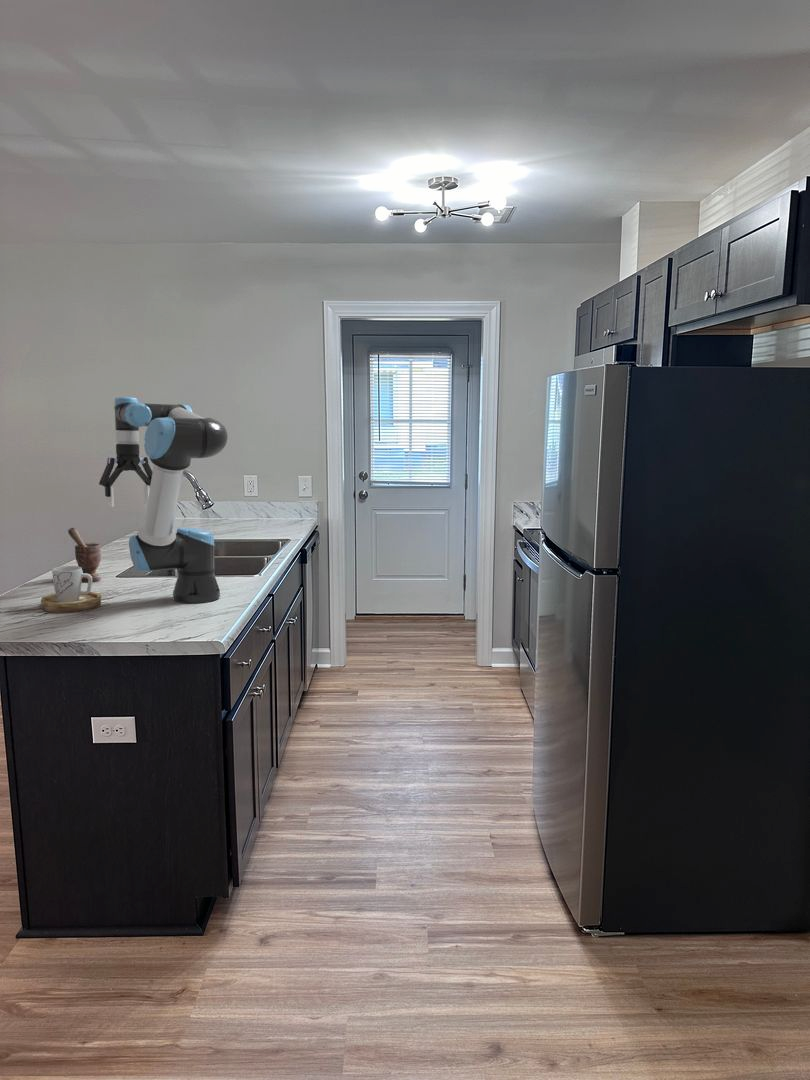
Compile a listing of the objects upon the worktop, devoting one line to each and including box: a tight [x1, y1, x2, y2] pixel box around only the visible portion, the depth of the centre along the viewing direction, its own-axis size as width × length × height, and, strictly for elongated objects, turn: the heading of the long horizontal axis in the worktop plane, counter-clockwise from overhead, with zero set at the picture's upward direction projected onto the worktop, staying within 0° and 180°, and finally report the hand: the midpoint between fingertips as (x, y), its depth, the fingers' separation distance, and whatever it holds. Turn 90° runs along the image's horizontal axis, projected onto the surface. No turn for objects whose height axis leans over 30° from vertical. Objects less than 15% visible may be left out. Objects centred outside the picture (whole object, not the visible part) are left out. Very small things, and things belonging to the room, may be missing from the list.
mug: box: [51, 565, 93, 602], centre depth 237 cm, size 11×8×10 cm
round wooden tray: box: [40, 591, 102, 614], centre depth 238 cm, size 17×17×3 cm
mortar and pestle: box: [67, 527, 102, 583], centre depth 272 cm, size 12×9×20 cm
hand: (129, 505), depth 263 cm, fingers open, 13 cm apart
